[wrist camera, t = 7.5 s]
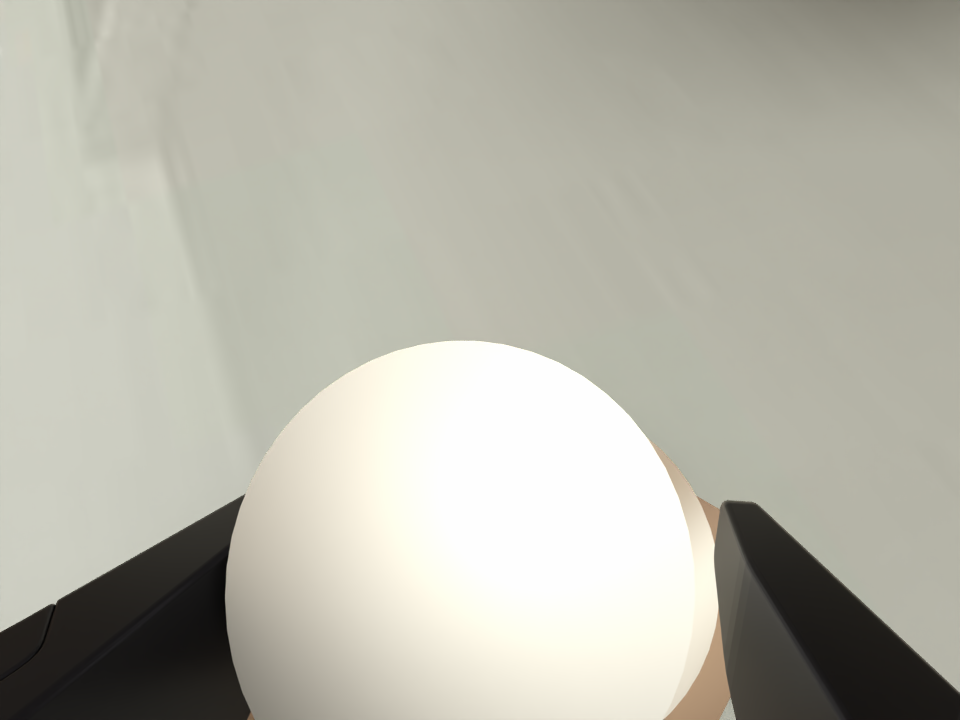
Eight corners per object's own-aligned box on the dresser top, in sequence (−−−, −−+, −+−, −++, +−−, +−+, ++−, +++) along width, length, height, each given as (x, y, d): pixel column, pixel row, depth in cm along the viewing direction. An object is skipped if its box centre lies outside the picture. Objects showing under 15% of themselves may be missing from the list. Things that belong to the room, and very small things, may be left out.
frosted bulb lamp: (680, 529, 16) (793, 463, 6) (584, 729, 15) (549, 1001, 5) (499, 432, 17) (374, 264, 8) (401, 609, 16) (127, 659, 7)
